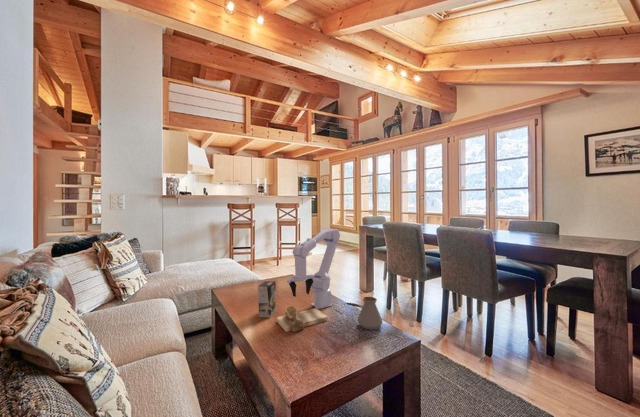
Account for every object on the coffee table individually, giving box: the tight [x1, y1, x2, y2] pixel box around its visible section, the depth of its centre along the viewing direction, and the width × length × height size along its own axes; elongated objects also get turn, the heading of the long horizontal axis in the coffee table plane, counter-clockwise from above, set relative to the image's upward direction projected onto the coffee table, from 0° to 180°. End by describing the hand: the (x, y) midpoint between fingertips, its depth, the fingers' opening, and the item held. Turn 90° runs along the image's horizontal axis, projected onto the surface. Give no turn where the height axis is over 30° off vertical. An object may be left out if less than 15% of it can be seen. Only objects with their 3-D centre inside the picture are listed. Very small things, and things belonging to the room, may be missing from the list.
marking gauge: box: [284, 305, 304, 333], centre depth 128 cm, size 5×13×8 cm, turn 29°
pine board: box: [276, 307, 329, 333], centre depth 132 cm, size 22×12×2 cm, turn 119°
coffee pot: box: [343, 296, 383, 331], centre depth 123 cm, size 21×12×15 cm, turn 129°
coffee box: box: [257, 280, 277, 319], centre depth 141 cm, size 9×6×16 cm
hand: (301, 294), depth 139 cm, fingers open, 7 cm apart
